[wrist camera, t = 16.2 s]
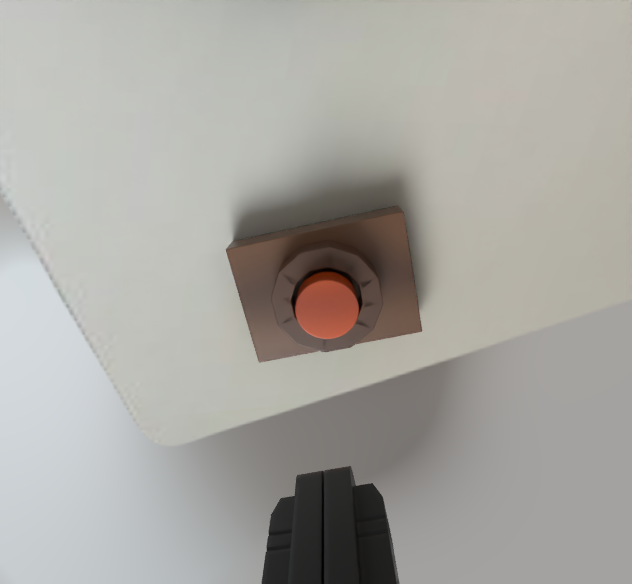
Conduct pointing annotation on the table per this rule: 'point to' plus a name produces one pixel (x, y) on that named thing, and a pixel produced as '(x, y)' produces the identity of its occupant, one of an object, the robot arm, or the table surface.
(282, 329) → the button block
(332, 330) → the button
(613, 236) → the table surface
